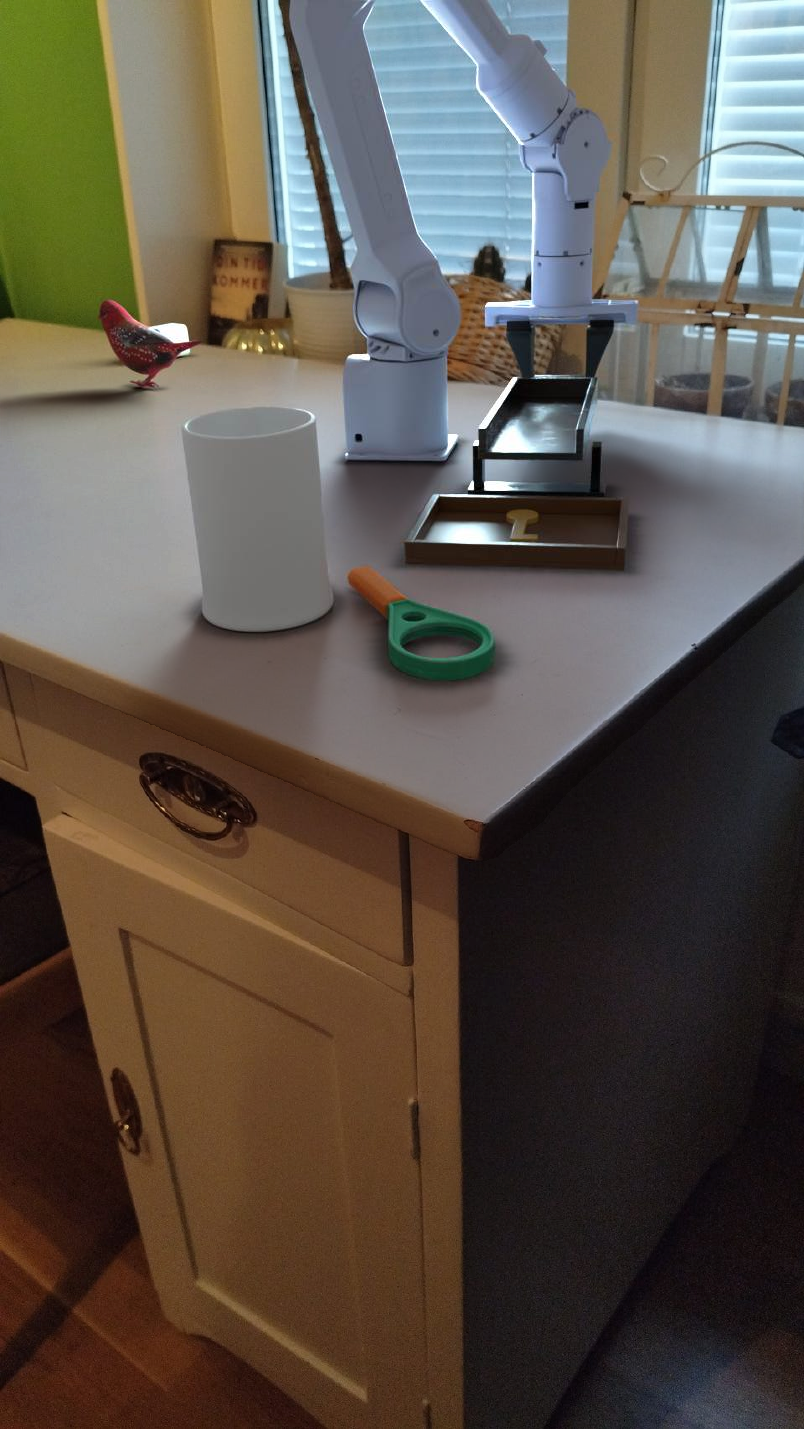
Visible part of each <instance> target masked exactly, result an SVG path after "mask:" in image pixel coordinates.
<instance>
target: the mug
mask: <svg viewBox="0 0 804 1429" xmlns="http://www.w3.org/2000/svg"><path fill="white" fill-rule="evenodd" d="M180 429H181V437H182V438H181V439H182V446H183V452H184V460H185V467H186V475H187V482H188V488H189V496H190V505H191V512H192V519H193V526H194V534H195V540H196V547H197V555H198V563H199V569H200V577H201V578H200V579H201V585H202V602H201V613H202V615H203V618H204V619H206V621H208V622H209V623H211V624H212V625H214V626H216V627H218V628H222V629H226V630H230V631H236V632H246V633H263V632H264V633H265V632H277V631H283V630H288V629H293V628H297V627H300V626H304V625H306V624H310V623H312V622H314V621H316V620H318V619H320V618H322V617H323V616H324V615H326V614H327V613H328V612H329V611H330V610H331V609H332V607H333V605H334V602H335V601H334V600H335V596H334V593H333V590H332V587H331V583H330V578H329V577H330V576H329V569H328V559H327V545H326V544H327V543H326V533H325V521H324V519H325V518H324V507H323V493H322V480H321V467H320V457H319V456H320V455H319V454H320V453H319V443H318V442H319V441H318V428H317V420H316V416H315V415H314V414H313V413H312V412H310V411H307V410H304V409H300V408H294V407H285V406H247V407H236V408H229V409H221V410H217V411H212V412H208V413H204V414H200V415H198V416H195V417H193V418H190V419H188V420H186V421H185V422H184V423H183V424H182V425H181V428H180Z"/></svg>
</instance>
